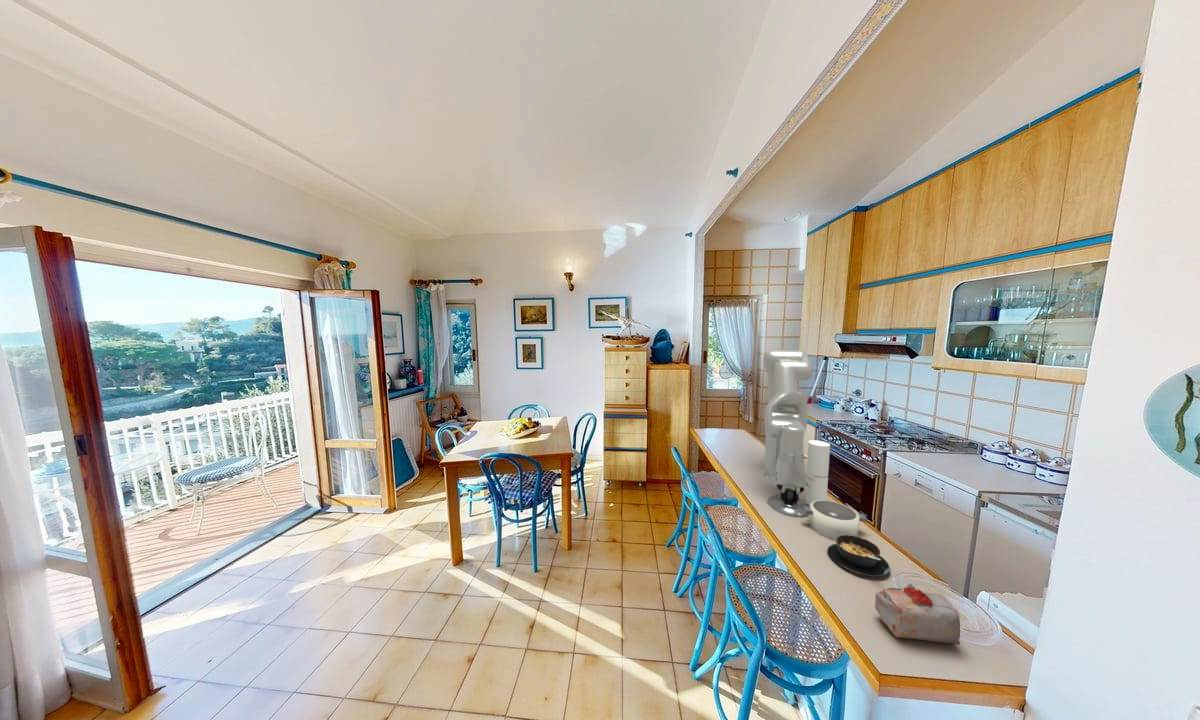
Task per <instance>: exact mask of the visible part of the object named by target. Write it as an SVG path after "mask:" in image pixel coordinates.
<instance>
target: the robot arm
mask: <svg viewBox="0 0 1200 720" xmlns="http://www.w3.org/2000/svg"><path fill="white" fill-rule="evenodd" d="M762 361H763V366H764V369H765V372H766V375H767V400H768V401H767V402H768V403H767V404H766V406H765V410H764V417H763V418H764V419H763V420H764V430H765V442H764V445H765V447H764V466H763V467H762V468H763V469H762V468H760V473H761V472H762V473H763V474H764V475H766V476H768V477H767V478H769V477H770V478H769V479H772V478H773V479H772V480H771V481H770V483H771V485H773V486H774V487H777V489H778V490H779V491H780V495H781V499H782V501H783V503H786V492H785V488H787V487H794V489H793V490H794V491H795V492H794V504H797V502H798V500H799V499H800V495H801V494H802V492H804V491H806V489H809V488H810V487H809V485H808V483H807V481H806V477H807V468H806V464H805V463H806V462H805V461H804V459H806V460H807V459H808V454H804V446H805V445H804V442H805V432H806V429H807V427H808V400H807V399H808V397H807V394H806V392H805V390H803V388H800V387H798V381H809V380H811V379H812V377H813V374H814V370H813V365H812V362H811V360H810V358H809V356H808V355H807V353H806V352H805V350H804V351H803V350H791V349H790V350H789V349H774V350H773V349H772V350H767V351H766V352H765V353H764V354H763V360H762ZM775 408H785V409H786V408H787V409H794V410H785V409H784V410H781V409H775ZM762 473H761V474H762ZM763 474H762V475H763ZM764 475H763V476H764ZM766 476H765V477H766Z"/></svg>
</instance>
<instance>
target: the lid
mask: <svg viewBox="0 0 1200 720" xmlns="http://www.w3.org/2000/svg"><path fill="white" fill-rule="evenodd" d="M794 490H795V489H793V488H790V487H786V488H785V492H786V503H783V501H782V499H781V494H773V495H770V496H769V497H767V504H768V506H769V507H770V508H771V509H773V510H774V511H775V512H777V513H780V514H782V515H784V516H788V517H792V516H793V518H807V517H810V514H805V513H804V511H803V506H805V507H810V504H808V503H807V502H806V501H804V500H802V499H800V498H799V500H798V502H797V504H794V492H795V491H794Z"/></svg>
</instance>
